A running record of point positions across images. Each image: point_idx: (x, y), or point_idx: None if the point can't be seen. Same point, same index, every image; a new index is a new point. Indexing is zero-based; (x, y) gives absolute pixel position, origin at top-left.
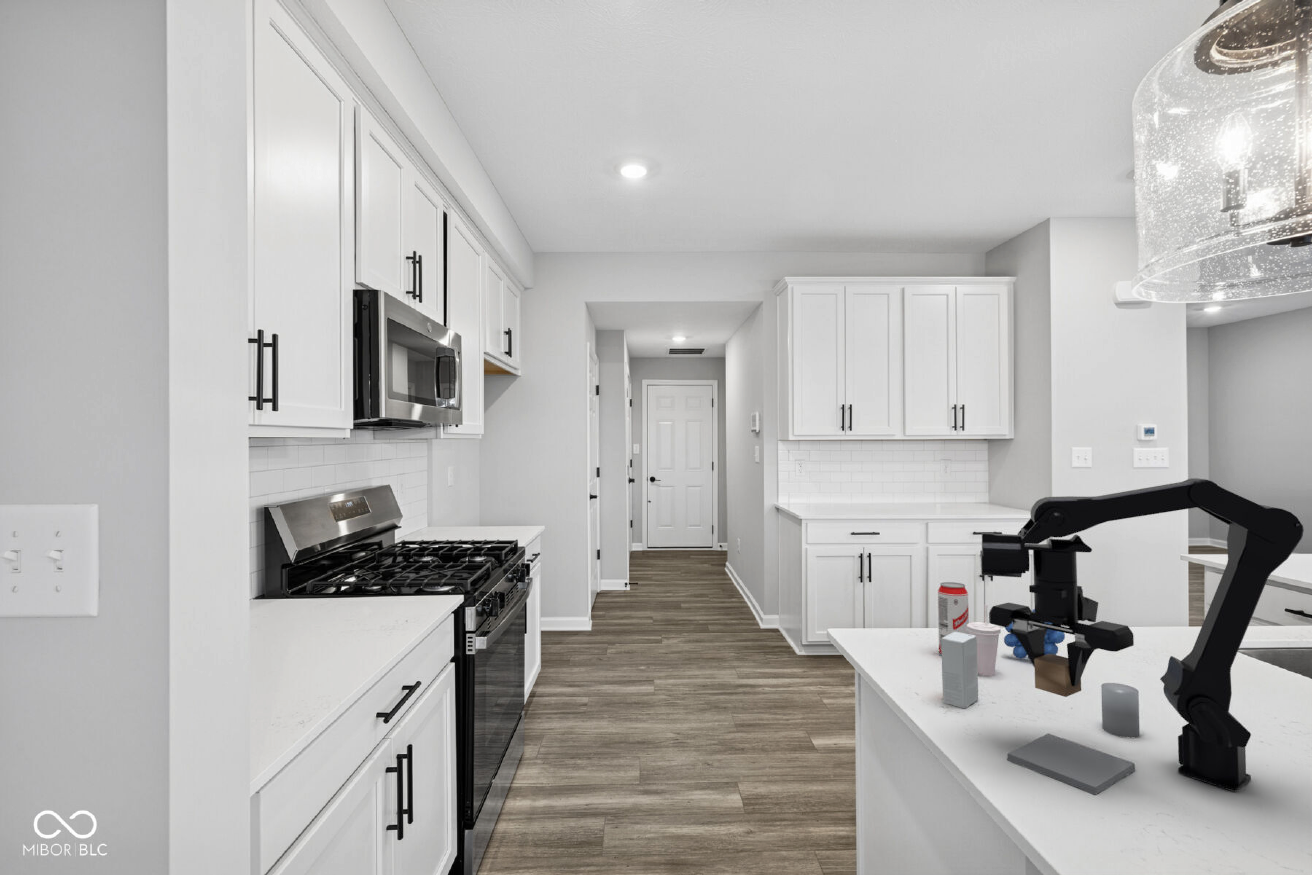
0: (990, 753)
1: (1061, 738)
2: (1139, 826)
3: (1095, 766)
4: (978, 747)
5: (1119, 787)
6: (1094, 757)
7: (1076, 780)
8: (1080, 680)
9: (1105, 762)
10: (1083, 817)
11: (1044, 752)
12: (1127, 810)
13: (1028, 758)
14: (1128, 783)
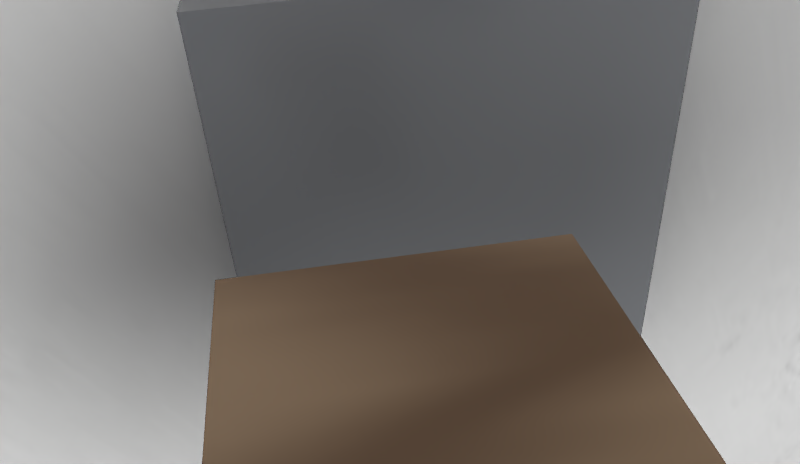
0: (184, 397)
1: (277, 10)
2: (777, 367)
3: (574, 184)
4: (110, 399)
5: (673, 195)
6: (532, 95)
7: None
8: (620, 316)
9: (592, 99)
10: None
11: None
12: (732, 320)
13: None
14: (692, 127)
